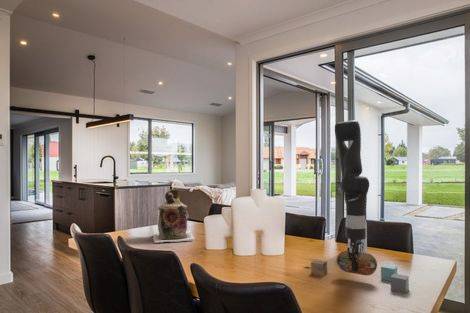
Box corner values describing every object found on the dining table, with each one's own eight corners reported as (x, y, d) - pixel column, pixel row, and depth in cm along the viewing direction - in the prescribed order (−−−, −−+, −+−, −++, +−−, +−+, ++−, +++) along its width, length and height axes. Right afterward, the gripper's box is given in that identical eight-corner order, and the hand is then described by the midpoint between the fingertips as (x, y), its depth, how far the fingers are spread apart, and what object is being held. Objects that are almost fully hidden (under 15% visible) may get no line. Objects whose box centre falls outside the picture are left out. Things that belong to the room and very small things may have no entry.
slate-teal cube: (384, 276, 136) (384, 263, 136) (397, 278, 133) (397, 266, 133) (381, 279, 132) (380, 266, 132) (394, 282, 129) (394, 269, 129)
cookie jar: (151, 236, 215) (152, 187, 217) (189, 233, 223) (189, 186, 224) (154, 244, 192) (154, 189, 193) (196, 241, 199) (196, 188, 200)
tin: (337, 270, 134) (336, 249, 134) (339, 268, 136) (339, 247, 136) (376, 277, 125) (375, 255, 125) (378, 275, 128) (377, 253, 128)
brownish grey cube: (316, 271, 142) (316, 259, 142) (327, 273, 139) (327, 261, 139) (311, 274, 138) (311, 262, 138) (322, 276, 135) (322, 264, 135)
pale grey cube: (393, 286, 123) (393, 273, 124) (408, 289, 120) (408, 276, 120) (390, 290, 119) (390, 276, 120) (406, 294, 116) (405, 279, 116)
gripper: (351, 222, 139) (352, 263, 139) (340, 227, 128) (340, 272, 127) (370, 224, 134) (370, 267, 134) (359, 230, 123) (360, 276, 123)
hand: (356, 269), depth 131 cm, fingers closed on tin, 2 cm apart
